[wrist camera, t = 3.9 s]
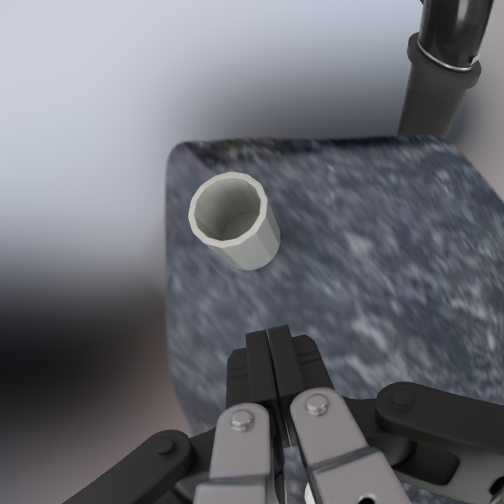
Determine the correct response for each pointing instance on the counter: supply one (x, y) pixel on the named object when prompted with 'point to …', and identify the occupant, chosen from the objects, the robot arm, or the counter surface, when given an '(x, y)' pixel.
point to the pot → (235, 220)
